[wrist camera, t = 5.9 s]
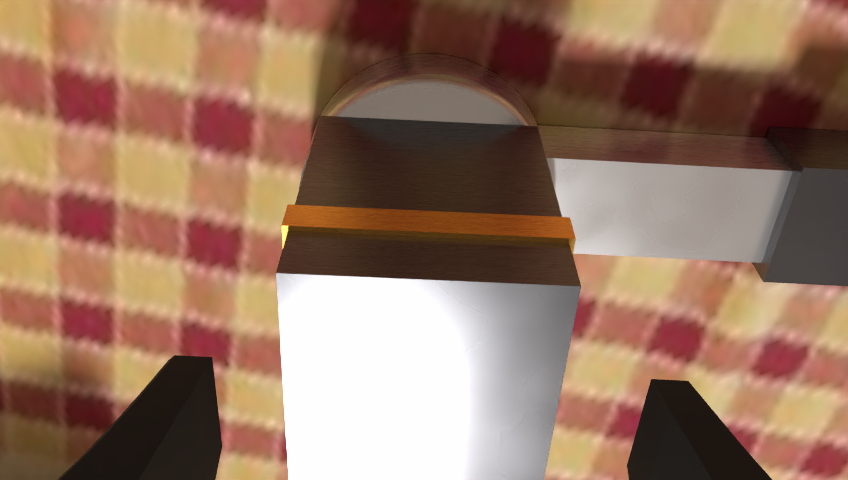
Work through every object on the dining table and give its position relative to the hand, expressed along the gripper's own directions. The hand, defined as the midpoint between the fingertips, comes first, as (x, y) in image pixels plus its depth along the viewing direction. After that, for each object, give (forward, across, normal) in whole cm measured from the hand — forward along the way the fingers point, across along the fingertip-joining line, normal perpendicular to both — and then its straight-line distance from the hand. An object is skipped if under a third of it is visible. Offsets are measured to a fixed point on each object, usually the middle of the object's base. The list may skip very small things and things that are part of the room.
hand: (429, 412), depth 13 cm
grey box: (+7, 0, 0) cm, 7 cm away
